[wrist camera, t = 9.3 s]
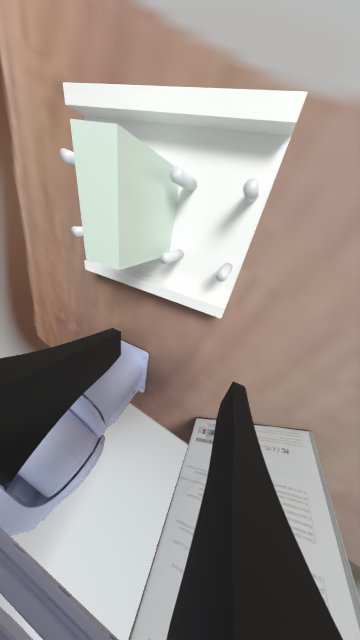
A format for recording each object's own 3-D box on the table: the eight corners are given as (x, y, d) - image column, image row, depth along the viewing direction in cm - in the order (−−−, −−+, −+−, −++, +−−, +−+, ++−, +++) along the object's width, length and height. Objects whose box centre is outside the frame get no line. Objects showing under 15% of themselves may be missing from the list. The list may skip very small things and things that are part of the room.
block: (169, 254, 16) (119, 270, 10) (146, 248, 16) (86, 259, 11) (181, 171, 12) (117, 123, 7) (152, 166, 13) (70, 118, 7)
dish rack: (225, 307, 17) (217, 326, 14) (102, 265, 20) (73, 272, 17) (297, 119, 10) (316, 67, 7) (92, 104, 13) (39, 65, 10)
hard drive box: (210, 446, 30) (153, 707, 13) (195, 415, 27) (104, 690, 11) (321, 468, 22) (498, 1140, 6) (314, 429, 20) (583, 1382, 3)
